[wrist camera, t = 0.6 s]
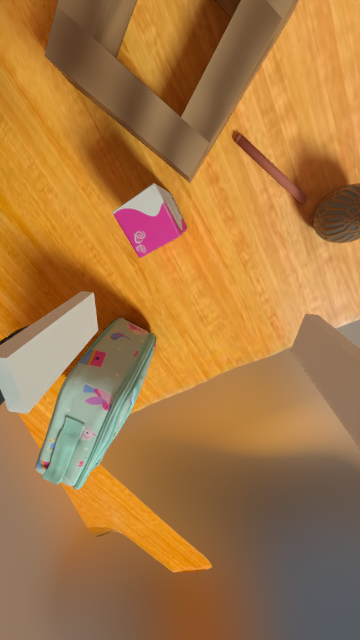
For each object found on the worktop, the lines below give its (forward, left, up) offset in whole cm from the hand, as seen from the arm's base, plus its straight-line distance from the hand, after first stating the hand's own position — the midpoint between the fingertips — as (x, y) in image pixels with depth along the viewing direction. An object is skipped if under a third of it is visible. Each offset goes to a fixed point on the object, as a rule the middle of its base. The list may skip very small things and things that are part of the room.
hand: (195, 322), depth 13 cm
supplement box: (-8, +1, -24) cm, 26 cm away
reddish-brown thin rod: (+1, +15, -24) cm, 28 cm away
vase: (+12, +16, -24) cm, 32 cm away
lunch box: (0, -29, -24) cm, 38 cm away
